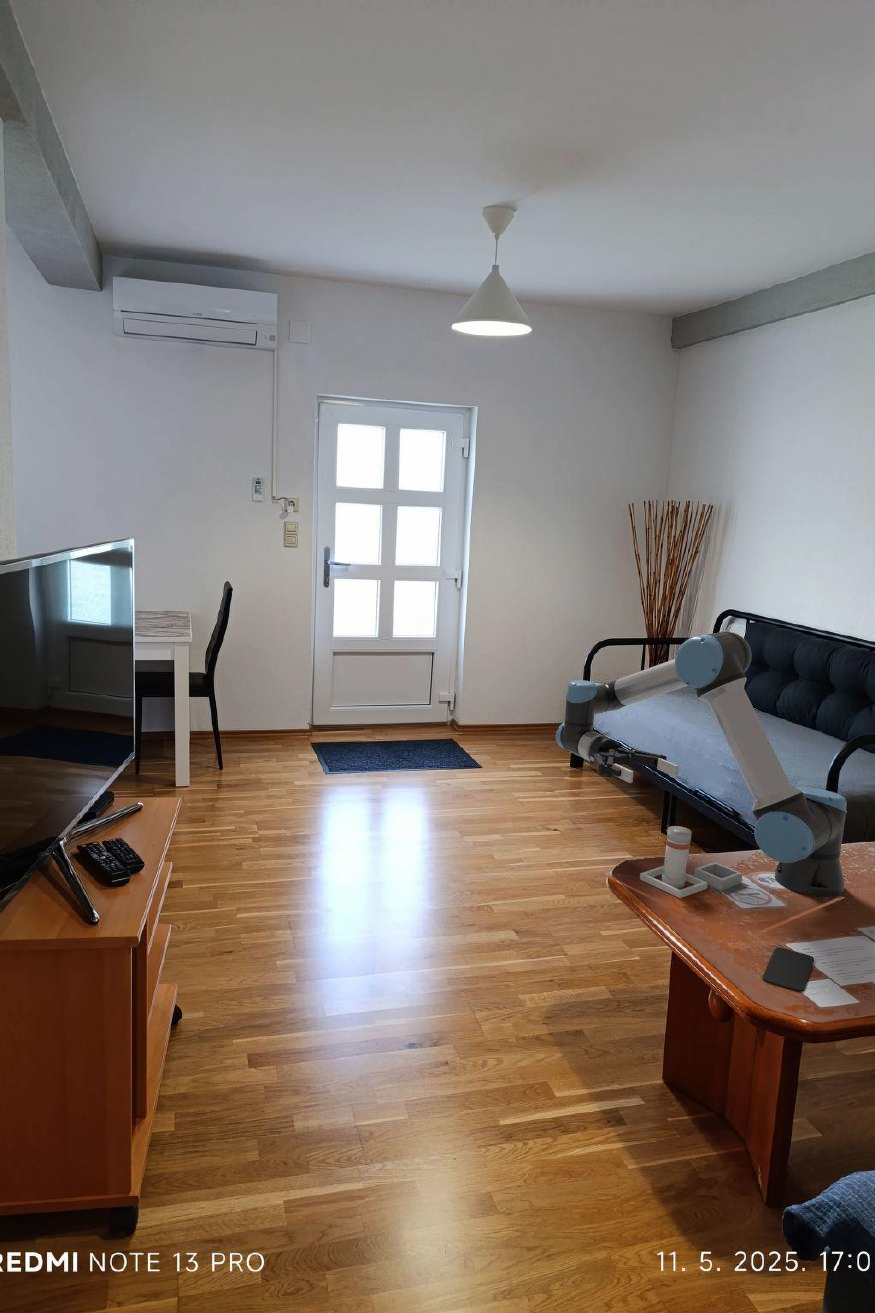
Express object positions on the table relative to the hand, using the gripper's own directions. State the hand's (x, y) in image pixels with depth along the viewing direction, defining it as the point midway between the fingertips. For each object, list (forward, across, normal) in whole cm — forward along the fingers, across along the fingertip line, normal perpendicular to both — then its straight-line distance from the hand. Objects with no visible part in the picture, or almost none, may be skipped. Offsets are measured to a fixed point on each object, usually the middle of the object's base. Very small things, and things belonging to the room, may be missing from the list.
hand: (654, 774), depth 212 cm
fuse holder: (+12, -11, -24) cm, 29 cm away
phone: (+48, +5, -24) cm, 54 cm away
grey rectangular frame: (+10, 0, -24) cm, 26 cm away
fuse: (+10, 0, -23) cm, 25 cm away
